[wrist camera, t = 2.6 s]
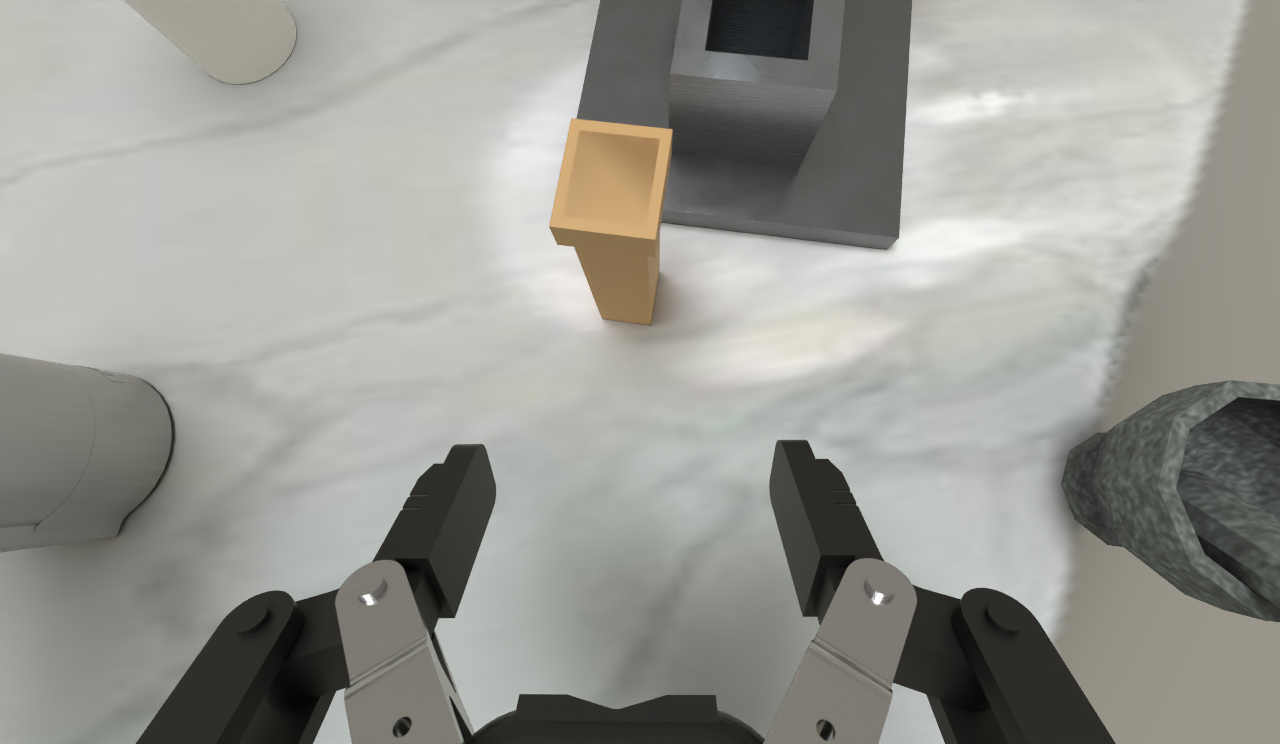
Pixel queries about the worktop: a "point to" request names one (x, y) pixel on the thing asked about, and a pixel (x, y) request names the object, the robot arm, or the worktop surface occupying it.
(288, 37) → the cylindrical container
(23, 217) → the worktop surface
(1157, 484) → the mortar and pestle
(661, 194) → the orange square peg
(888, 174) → the grey fixture with cylinder
